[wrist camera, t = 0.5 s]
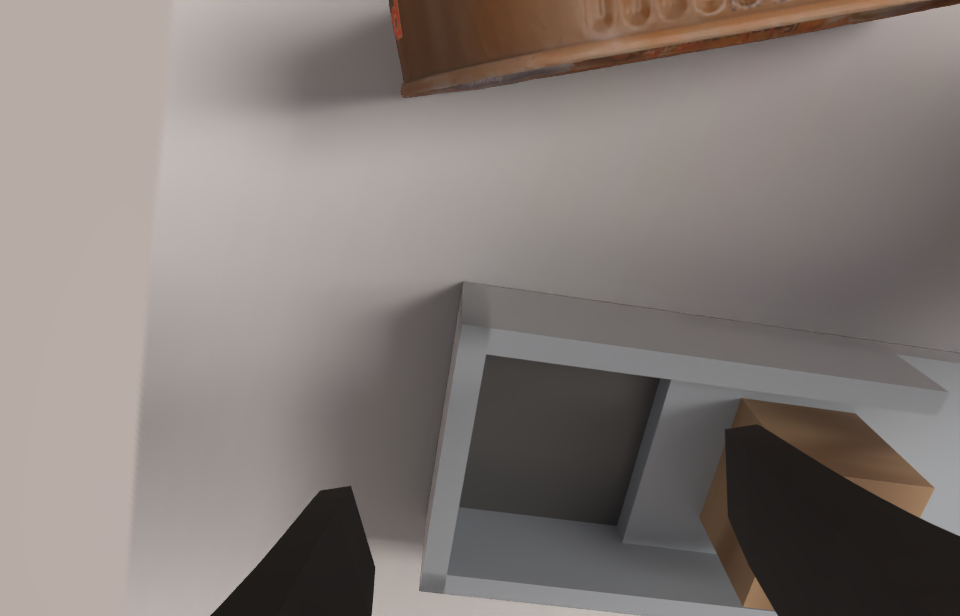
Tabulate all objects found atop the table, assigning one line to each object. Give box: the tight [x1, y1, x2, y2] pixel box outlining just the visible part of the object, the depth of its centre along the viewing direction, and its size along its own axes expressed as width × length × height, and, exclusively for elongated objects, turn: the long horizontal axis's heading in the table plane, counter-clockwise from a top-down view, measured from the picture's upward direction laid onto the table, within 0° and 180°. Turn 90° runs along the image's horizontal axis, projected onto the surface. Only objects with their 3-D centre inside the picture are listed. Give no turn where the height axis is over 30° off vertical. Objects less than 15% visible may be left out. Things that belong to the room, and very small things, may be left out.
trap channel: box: [419, 282, 960, 616], centre depth 22 cm, size 26×10×4 cm, turn 81°
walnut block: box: [700, 398, 935, 611], centre depth 21 cm, size 4×5×4 cm
